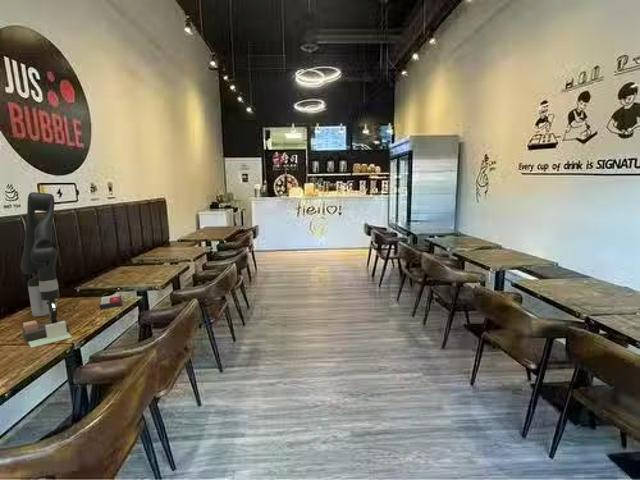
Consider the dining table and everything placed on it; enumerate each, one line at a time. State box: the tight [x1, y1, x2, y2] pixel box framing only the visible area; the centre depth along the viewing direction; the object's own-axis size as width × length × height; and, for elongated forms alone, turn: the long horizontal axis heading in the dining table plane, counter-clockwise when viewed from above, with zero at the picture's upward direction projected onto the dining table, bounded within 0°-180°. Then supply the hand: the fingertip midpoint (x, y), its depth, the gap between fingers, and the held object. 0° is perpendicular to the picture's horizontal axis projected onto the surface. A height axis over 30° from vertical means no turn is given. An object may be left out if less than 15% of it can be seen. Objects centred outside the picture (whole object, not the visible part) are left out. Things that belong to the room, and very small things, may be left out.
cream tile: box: [45, 320, 67, 339], centre depth 193 cm, size 6×8×3 cm
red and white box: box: [99, 294, 122, 310], centre depth 242 cm, size 11×4×15 cm
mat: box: [27, 332, 73, 349], centre depth 189 cm, size 9×16×1 cm, turn 132°
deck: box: [21, 318, 70, 343], centre depth 197 cm, size 12×17×4 cm
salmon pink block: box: [22, 320, 39, 332], centre depth 193 cm, size 6×5×3 cm
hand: (54, 323), depth 197 cm, fingers closed
